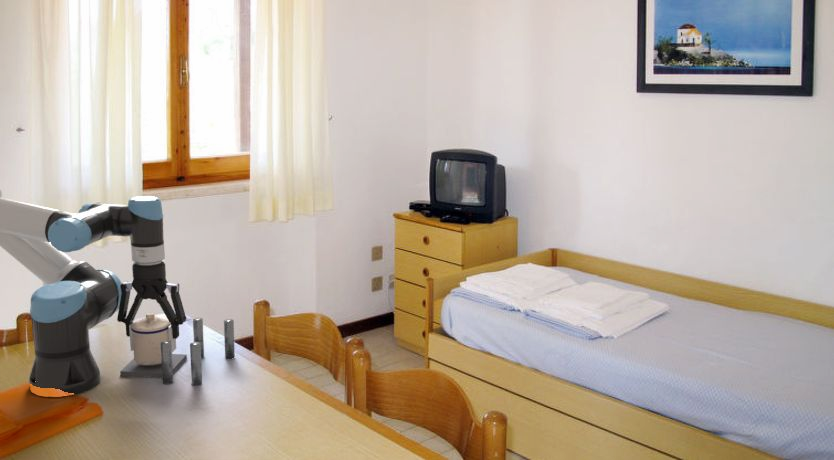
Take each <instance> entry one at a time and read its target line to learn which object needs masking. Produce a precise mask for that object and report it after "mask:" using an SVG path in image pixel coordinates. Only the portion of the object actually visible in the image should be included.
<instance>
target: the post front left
mask: <svg viewBox="0 0 834 460" xmlns="http://www.w3.org/2000/svg"><path fill="white" fill-rule="evenodd" d="M172 354H173V352H172V346H171V341H162V342H161V361H162V378H161V379H162V384H163V385H171V384H173V383H174V374H173V366H172Z"/></svg>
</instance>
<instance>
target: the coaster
mask: <svg viewBox="0 0 834 460" xmlns="http://www.w3.org/2000/svg"><path fill="white" fill-rule="evenodd" d="M187 356H188V355H187V354H182V353H181V354H180V353H172V366H173V375H174V374H175V373H176V372H177V371H178V369H180V368H181V366H182V365H183V363H185V362H186V360H187V359H188V357H187ZM119 375H120V377H134V378H135V377H136V378H155V379H162V363H161V364H156V365H141V364H138V363H136V362H135V360H134V358H133V359H131V360H130V361H129V362H128V363H127V364H126V365H125V366H124V367H123V368H122V369H121V370H120V371H119Z"/></svg>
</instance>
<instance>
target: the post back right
mask: <svg viewBox="0 0 834 460" xmlns="http://www.w3.org/2000/svg"><path fill="white" fill-rule="evenodd" d="M234 323H235V321H234V319H232V318H229V319H227V318H226V319H224V320H223V333H224V335H223V336H224V337H223V338H224V358H226V360H233V359H232V358H234V357H235V356H236V354H235V324H234ZM235 358H236V357H235ZM235 358H234V359H235Z"/></svg>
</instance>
